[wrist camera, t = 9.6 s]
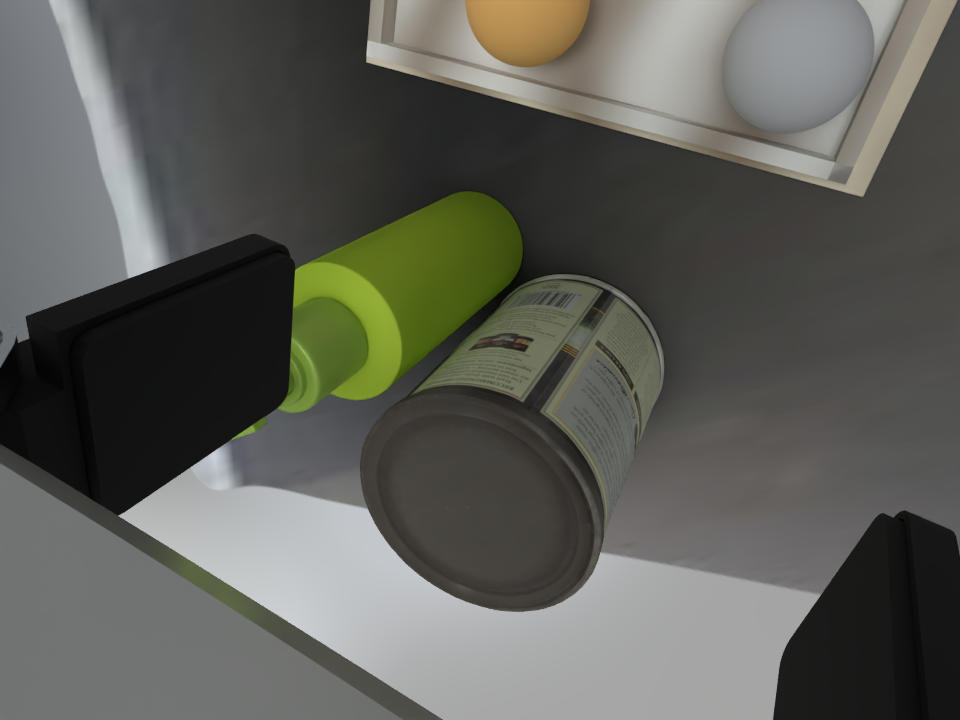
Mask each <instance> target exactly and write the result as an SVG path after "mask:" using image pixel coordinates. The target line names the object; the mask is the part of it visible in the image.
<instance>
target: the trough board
mask: <svg viewBox="0 0 960 720" xmlns="http://www.w3.org/2000/svg"><path fill="white" fill-rule="evenodd" d="M757 1H759V0H590V5H589V11H588V15H587V18H586V22H585V24H584V26H583V29H582V31H581V32H580V34H579V36H578V38H577V39H576V40H575V42H574V43H573V44H572V45H571V46H570V47H569V49H568V50H567V51H565V52H564V53H563V54H562V55H561V56H559V57H558V58H556V59H554V60H553V61H550V62H548V63H546V64H543V65H539V66H535V67H517V66H512V65H509V64H506V63H503V62H501V61H499V60H497V59H496V58H494V57H493V56H491V55H490V54H489V53H488V52H487V51H486V50H485V49H484V48H483V47H482V46H481V45H480V43H479V42H478V41H477V39H476V37H475V36H474V34H473V32H472V30H471V27H470V24H469V21H468V17H467V13H466V5H465V0H371V6H370V19H369V31H368V43H367V55H366V56H367V61H366V62H368V63H371V64H375V65H379V66H382V67H386V68H390V69H394V70H397V71H401V72H405V73H408V74H412V75H416V76H419V77H423V78H427V79H430V80H434V81H438V82H441V83H445V84H449V85H452V86H456V87H460V88H463V89H467V90H471V91H474V92H478V93H482V94H485V95H489V96H493V97H497V98H500V99H504V100H508V101H511V102H515V103H519V104H522V105H526V106H530V107H533V108H537V109H541V110H544V111H548V112H552V113H555V114H559V115H563V116H566V117H570V118H574V119H577V120H581V121H585V122H588V123H592V124H596V125H599V126H603V127H607V128H611V129H614V130H618V131H622V132H625V133H629V134H633V135H636V136H640V137H644V138H647V139H651V140H655V141H658V142H662V143H666V144H669V145H673V146H677V147H680V148H684V149H688V150H691V151H695V152H699V153H702V154H706V155H710V156H714V157H717V158H721V159H725V160H728V161H732V162H736V163H739V164H743V165H747V166H750V167H754V168H758V169H761V170H765V171H769V172H772V173H776V174H780V175H783V176H787V177H791V178H794V179H798V180H802V181H805V182H809V183H813V184H817V185H820V186H824V187H828V188H831V189H835V190H839V191H842V192H846V193H850V194H853V195H857V196H861V197H863V195H864V193H865V191H866V189H867V187H868V185H869V183H870V181H871V179H872V177H873V175H874V173H875V170H876V168H877V166H878V164H879V162H880V160H881V158H882V156H883V154H884V152H885V150H886V148H887V145H888V143H889V141H890V139H891V137H892V135H893V133H894V131H895V129H896V127H897V125H898V123H899V121H900V118H901V116H902V114H903V112H904V110H905V108H906V106H907V104H908V102H909V100H910V98H911V96H912V94H913V91H914V89H915V87H916V85H917V83H918V81H919V79H920V77H921V75H922V73H923V71H924V69H925V66H926V64H927V62H928V60H929V58H930V56H931V54H932V52H933V50H934V48H935V46H936V44H937V42H938V39H939V37H940V35H941V33H942V31H943V29H944V27H945V25H946V23H947V21H948V19H949V17H950V15H951V12H952V10H953V8H954V6H955V4H956V2H957V0H857V1H858V2H859V3H860V4H861V6H862V7H863V8H864V9H865V11H866V13H867V15H868V17H869V19H870V22H871V25H872V29H873V34H874V57H873V61H872V66H871V69H870V72H869V75H868V77H867V79H866V81H865V83H864V85H863V87H862V89H861V90H860V92H859V93H858V95H857V96H856V97H855V99H854V100H853V101H852V102H851V103H850V104H849V105H848V106H847V107H846V108H845V109H844V110H843V111H842V112H841V113H839V114H838V115H837V116H835V117H834V118H833V119H831V120H829V121H828V122H826V123H824V124H822V125H820V126H818V127H816V128H813V129H810V130H806V131H802V132H797V133H786V134H785V133H774V132H768V131H765V130H762V129H759V128H757V127H755V126H753V125H751V124H750V123H748V122H747V121H745V120H744V119H743V118H742V117H741V116H740V115H739V114H738V113H737V112H736V111H735V110H734V108H733V107H732V105H731V104H730V102H729V100H728V98H727V96H726V93H725V90H724V86H723V81H722V60H723V54H724V50H725V47H726V44H727V41H728V39H729V36H730V34H731V33H732V31H733V29H734V27H735V26H736V24H737V23H738V21H739V20H740V18H741V17H742V16H743V15H744V14H745V13H746V11H747V10H748V9H749V8H750V7H752V6H753V5H754V4H755V3H756V2H757Z"/></svg>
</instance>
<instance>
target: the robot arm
mask: <svg viewBox="0 0 960 720" xmlns="http://www.w3.org/2000/svg"><path fill="white" fill-rule="evenodd" d="M294 281H295V263H294V261H293V260H292V259H291V258H290V253H289V251H288V249H287V248H286V247H285V246H284V245H281V244H279V243H277V242H274V241H272V240H270V239H267V238H265V237H263V236H260V235H257V234H250V235H247V236H244V237H242V238H239V239H236V240H233V241H231V242H228V243H225V244H222V245H220V246H217V247H214V248H211V249H209V250H206V251H203V252H200V253H198V254H195V255H192V256H190V257H187V258H184V259H181V260H179V261H176V262H173V263H170V264H168V265H165V266H162V267H159V268H157V269H154V270H151V271H148V272H146V273H143V274H140V275H137V276H135V277H132V278H129V279H127V280H124V281H122V282H118V283H116V284H113V285H110V286H107V287H105V288H102V289H99V290H97V291H94V292H91V293H89V294H85V295H83V296H80V297H77V298H75V299H72V300H69V301H66V302H64V303H61V304H58V305H55V306H53V307H50V308H47V309H44V310H42V311H39V312H36V313H33V314H31V315H28V316H26V322H27V327H28V332H29V338H30V339H27V340H25V341H22V342H20V343H18V340H17V336H16V333H15V331H14V329H13V327H12V326H10V325H9V324H7V323H6V322H4V321H2V320H0V720H442V719H441V718H439V717H438V716H436V715H434V714H433V713H431V712H430V711H428V710H427V709H425V708H424V707H422V706H420V705H419V704H417V703H416V702H414V701H412V700H411V699H409V698H408V697H406V696H405V695H403V694H401V693H400V692H398V691H397V690H395V689H393V688H392V687H390V686H389V685H387V684H386V683H384V682H383V681H381V680H379V679H378V678H376V677H375V676H373V675H372V674H370V673H368V672H367V671H365V670H364V669H362V668H360V667H359V666H357V665H356V664H354V663H352V662H351V661H349V660H348V659H346V658H344V657H343V656H341V655H340V654H338V653H337V652H335V651H333V650H332V649H330V648H329V647H327V646H325V645H324V644H322V643H321V642H319V641H317V640H316V639H314V638H312V637H311V636H309V635H308V634H306V633H305V632H303V631H302V630H300V629H298V628H297V627H295V626H294V625H292V624H290V623H288V622H287V621H286V620H284V619H282V618H281V617H279V616H278V615H276V614H274V613H273V612H271V611H270V610H268V609H266V608H265V607H263V606H261V605H260V604H258V603H257V602H255V601H254V600H252V599H251V598H249V597H247V596H246V595H244V594H243V593H241V592H239V591H238V590H236V589H235V588H233V587H231V586H230V585H228V584H226V583H225V582H223V581H222V580H220V579H218V578H217V577H215V576H214V575H212V574H210V573H209V572H207V571H206V570H204V569H202V568H201V567H199V566H198V565H196V564H195V563H193V562H191V561H190V560H188V559H187V558H185V557H183V556H182V555H180V554H179V553H177V552H175V551H174V550H172V549H171V548H169V547H167V546H166V545H164V544H163V543H161V542H159V541H158V540H156V539H154V538H153V537H151V536H150V535H148V534H146V533H145V532H143V531H141V530H140V529H138V528H137V527H135V526H133V525H132V524H130V523H128V522H127V521H125V520H124V519H122V518H120V517H119V516H118V515H120V514H122V513H124V512H125V511H127V510H128V509H130V508H131V507H133V506H134V505H136V504H137V503H139V502H140V501H142V500H143V499H145V498H146V497H147V496H149V495H150V494H152V493H153V492H155V491H156V490H158V489H159V488H161V487H162V486H164V485H165V484H167V483H168V482H170V481H171V480H172V479H174V478H175V477H177V476H178V475H180V474H181V473H183V472H184V471H186V470H187V469H189V468H190V467H192V466H193V465H194V464H196V463H197V462H199V461H200V460H202V459H203V458H205V457H206V456H208V455H209V454H211V453H212V452H214V451H215V450H217V449H218V448H219V447H221V446H222V445H224V444H225V443H227V442H228V441H230V440H231V439H233V438H234V437H236V436H237V435H239V434H240V433H242V432H243V431H244V430H246V429H247V428H249V427H250V426H252V425H253V424H255V423H256V422H258V421H259V420H261V419H262V418H264V417H265V416H266V415H268V414H269V413H271V412H272V411H274V410H275V409H277V408H278V407H279V406H280V405H281V404H282V403H283V402H284V400H285V398H286V396H287V394H288V390H289V376H290V357H291V338H292V319H293V300H294ZM773 720H960V555H959V549H958V544H957V539H956V536H955V533H954V532H953V531H952V530H950V529H947V528H945V527H943V526H940V525H938V524H936V523H933V522H931V521H929V520H926V519H924V518H922V517H919V516H917V515H915V514H912V513H910V512H908V511H901V512H899V513H898V514H897V515H896V516H895V517H894V518H893V517H891V516H888V515H886V514H884V513H882V514H880V515H878V516H877V517H876V518H875V519H874V521H873V522H872V523H871V525H870V526H869V528H868V529H867V531H866V532H865V533H864V535H863V536H862V538H861V539H860V541H859V542H858V543H857V545H856V546H855V548H854V549H853V550H852V552H851V553H850V555H849V556H848V558H847V559H846V560H845V562H844V563H843V565H842V566H841V568H840V569H839V570H838V572H837V573H836V575H835V576H834V577H833V579H832V580H831V582H830V583H829V585H828V586H827V587H826V589H825V590H824V592H823V593H822V595H821V596H820V597H819V599H818V600H817V602H816V603H815V604H814V606H813V607H812V609H811V610H810V612H809V613H808V614H807V616H806V617H805V619H804V620H803V622H802V623H801V624H800V626H799V627H798V629H797V630H796V632H795V633H794V635H793V636H792V637H791V639H790V640H789V642H788V644H787V646H786V648H785V650H784V653H783V655H782V659H781V662H780V668H779V676H778V684H777V692H776V700H775V708H774V717H773Z"/></svg>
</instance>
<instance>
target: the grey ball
mask: <svg viewBox="0 0 960 720" xmlns="http://www.w3.org/2000/svg"><path fill="white" fill-rule="evenodd" d="M873 57H874V34H873V29H872V25H871V22H870V19H869V17H868V15H867V13H866V11H865V9H864V8H863V7H862V6H861V4H860V3H859V2H858V1H857V0H759V1H757V2H756V3H755V4H754V5H753V6H752V7H750V8H749V9H748V10H747V11H746V13H745V14H744V15H743V16H742V17H741V18H740V20H739V21H738V23H737V24H736V26H735V27H734V29H733V31H732V33H731V34H730V36H729V39H728V41H727V44H726V47H725V50H724V54H723V60H722V81H723V86H724V90H725V93H726V96H727V98H728V100H729V102H730V104H731V105H732V107H733V108H734V110H735V111H736V112H737V113H738V114H739V115H740V116H741V117H742V118H743V119H744V120H745V121H747V122H748V123H750V124H751V125H753V126H755V127H757V128H759V129H762V130H765V131H768V132H774V133H785V134H786V133H797V132H802V131H806V130H810V129H813V128H816V127H818V126H820V125H822V124H824V123H826V122H828V121H829V120H831V119H833V118H834V117H835V116H837V115H838V114H839V113H841V112H842V111H843V110H844V109H845V108H846V107H847V106H848V105H849V104H850V103H851V102H852V101H853V100H854V99H855V97H856V96H857V95H858V93H859V92H860V90H861V89H862V87H863V85H864V83H865V81H866V79H867V77H868V75H869V72H870V69H871V66H872V61H873Z"/></svg>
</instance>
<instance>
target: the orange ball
mask: <svg viewBox="0 0 960 720" xmlns="http://www.w3.org/2000/svg"><path fill="white" fill-rule="evenodd" d="M465 5H466V13H467V17H468V21H469V24H470V27H471V30H472V32H473V34H474V36H475V37H476V39H477V41H478V42H479V43H480V45H481V46H482V47H483V48H484V49H485V50H486V51H487V52H488V53H489V54H490V55H491V56H493V57H494V58H496V59H497V60H499V61H501V62H503V63H506V64H509V65H512V66H517V67H535V66H539V65H543V64H546V63H548V62H550V61H553V60H554V59H556V58H558V57H559V56H561V55H562V54H563V53H564V52H565V51H567V50H568V49H569V47H570V46H571V45H572V44H573V43H574V42H575V40H576V39H577V38H578V36H579V34H580V32H581V31H582V29H583V26H584V24H585V22H586V18H587V15H588V11H589V5H590V0H465Z"/></svg>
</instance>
